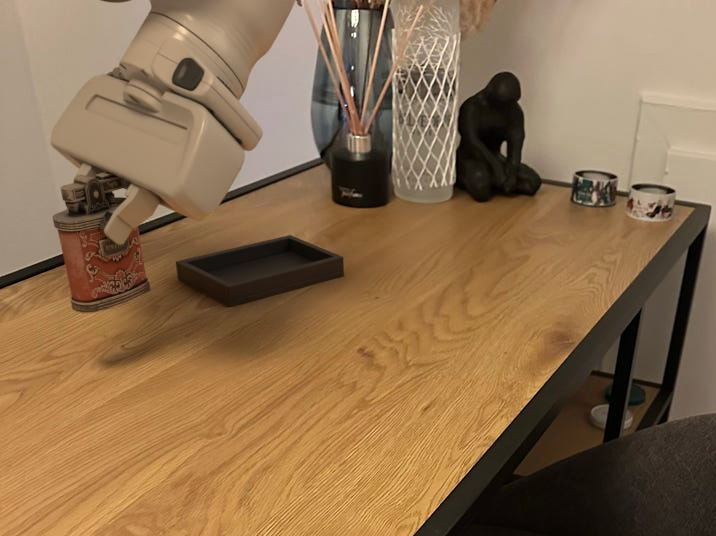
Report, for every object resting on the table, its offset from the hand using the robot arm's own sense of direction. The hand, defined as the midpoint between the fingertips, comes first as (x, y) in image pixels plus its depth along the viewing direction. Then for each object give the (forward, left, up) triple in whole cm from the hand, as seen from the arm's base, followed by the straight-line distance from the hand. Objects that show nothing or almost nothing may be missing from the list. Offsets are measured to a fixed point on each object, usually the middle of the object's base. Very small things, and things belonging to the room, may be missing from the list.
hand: (92, 230), depth 78 cm
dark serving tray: (-10, +24, -12) cm, 28 cm away
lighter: (0, +1, -6) cm, 6 cm away
